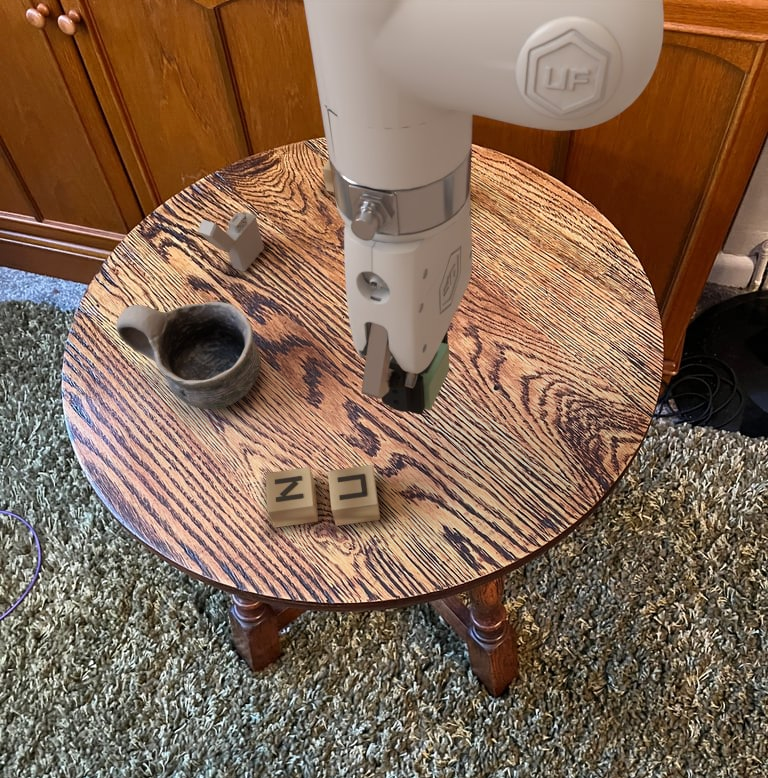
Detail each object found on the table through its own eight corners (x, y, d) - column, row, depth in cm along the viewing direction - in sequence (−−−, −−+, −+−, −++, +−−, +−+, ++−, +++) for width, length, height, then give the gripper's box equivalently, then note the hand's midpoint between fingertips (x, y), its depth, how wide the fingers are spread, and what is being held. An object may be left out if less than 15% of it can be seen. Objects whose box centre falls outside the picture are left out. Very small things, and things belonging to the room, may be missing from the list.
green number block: (449, 370, 58) (449, 343, 55) (430, 411, 56) (429, 385, 54) (400, 356, 59) (398, 329, 56) (380, 396, 57) (376, 370, 55)
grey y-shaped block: (252, 242, 86) (234, 181, 79) (265, 246, 86) (248, 186, 79) (216, 285, 83) (194, 226, 76) (229, 290, 83) (209, 231, 76)
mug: (263, 425, 74) (237, 357, 65) (137, 428, 75) (95, 362, 66) (272, 346, 79) (250, 274, 70) (153, 350, 80) (116, 279, 71)
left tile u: (375, 481, 70) (372, 463, 67) (380, 519, 68) (377, 503, 66) (332, 487, 70) (327, 470, 68) (336, 526, 68) (331, 509, 66)
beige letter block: (372, 176, 90) (370, 152, 87) (358, 198, 88) (355, 175, 85) (340, 168, 91) (337, 145, 88) (326, 190, 89) (322, 167, 86)
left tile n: (315, 483, 71) (309, 465, 68) (318, 521, 69) (313, 505, 66) (272, 489, 71) (265, 472, 68) (274, 528, 69) (267, 511, 66)
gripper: (408, 300, 37) (421, 488, 53) (516, 91, 44) (499, 314, 60) (271, 264, 39) (323, 456, 55) (395, 69, 46) (410, 291, 62)
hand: (415, 380), depth 58 cm, fingers closed on green number block, 4 cm apart
